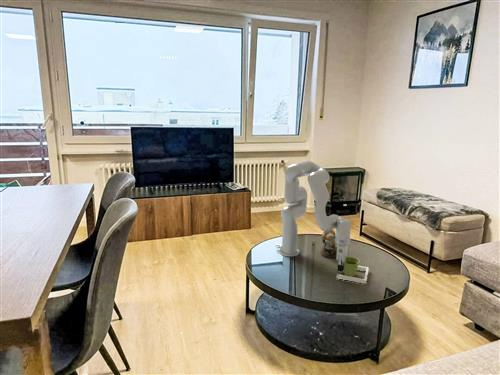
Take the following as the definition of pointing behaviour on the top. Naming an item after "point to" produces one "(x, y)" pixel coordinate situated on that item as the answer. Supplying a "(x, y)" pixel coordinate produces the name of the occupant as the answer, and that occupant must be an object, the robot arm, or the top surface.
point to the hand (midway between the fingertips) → (340, 270)
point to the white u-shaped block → (355, 277)
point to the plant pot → (351, 266)
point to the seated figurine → (329, 244)
